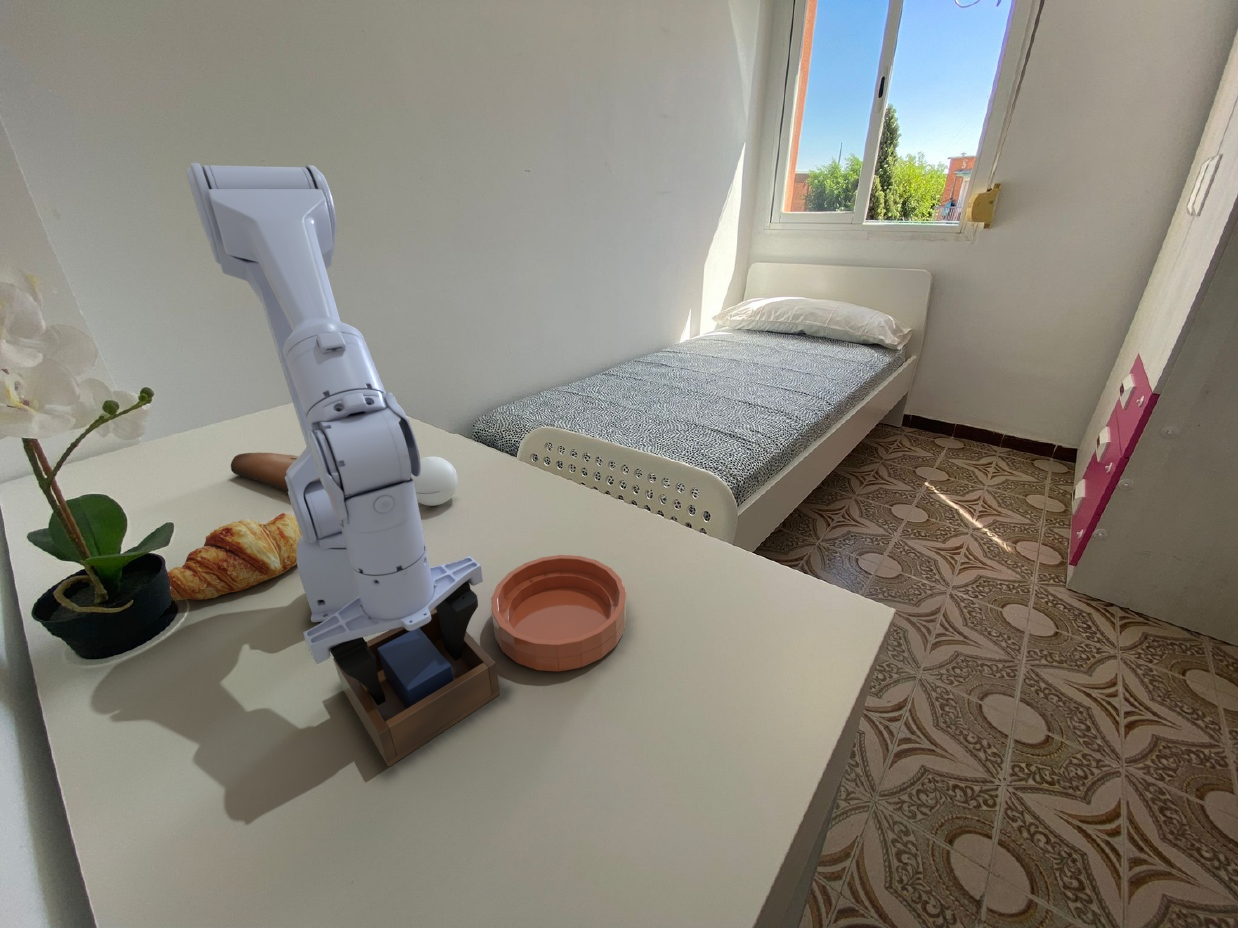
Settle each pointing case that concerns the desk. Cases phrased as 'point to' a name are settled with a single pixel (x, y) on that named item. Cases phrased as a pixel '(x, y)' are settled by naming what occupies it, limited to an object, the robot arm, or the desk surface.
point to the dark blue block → (414, 667)
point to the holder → (433, 714)
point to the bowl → (559, 612)
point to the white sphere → (435, 481)
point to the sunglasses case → (264, 468)
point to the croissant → (237, 558)
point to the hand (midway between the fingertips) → (417, 673)
